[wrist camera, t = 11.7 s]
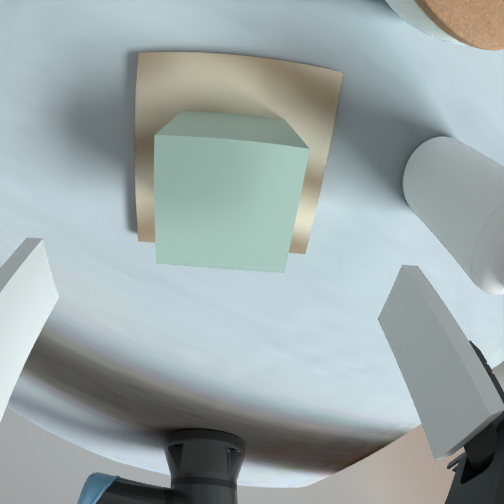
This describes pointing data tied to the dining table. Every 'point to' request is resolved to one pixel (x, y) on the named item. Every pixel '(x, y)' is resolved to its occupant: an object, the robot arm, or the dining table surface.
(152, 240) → the post board
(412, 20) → the lidded jar
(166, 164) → the mint foam cube
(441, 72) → the dining table surface
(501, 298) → the dining table surface
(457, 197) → the pill bottle
